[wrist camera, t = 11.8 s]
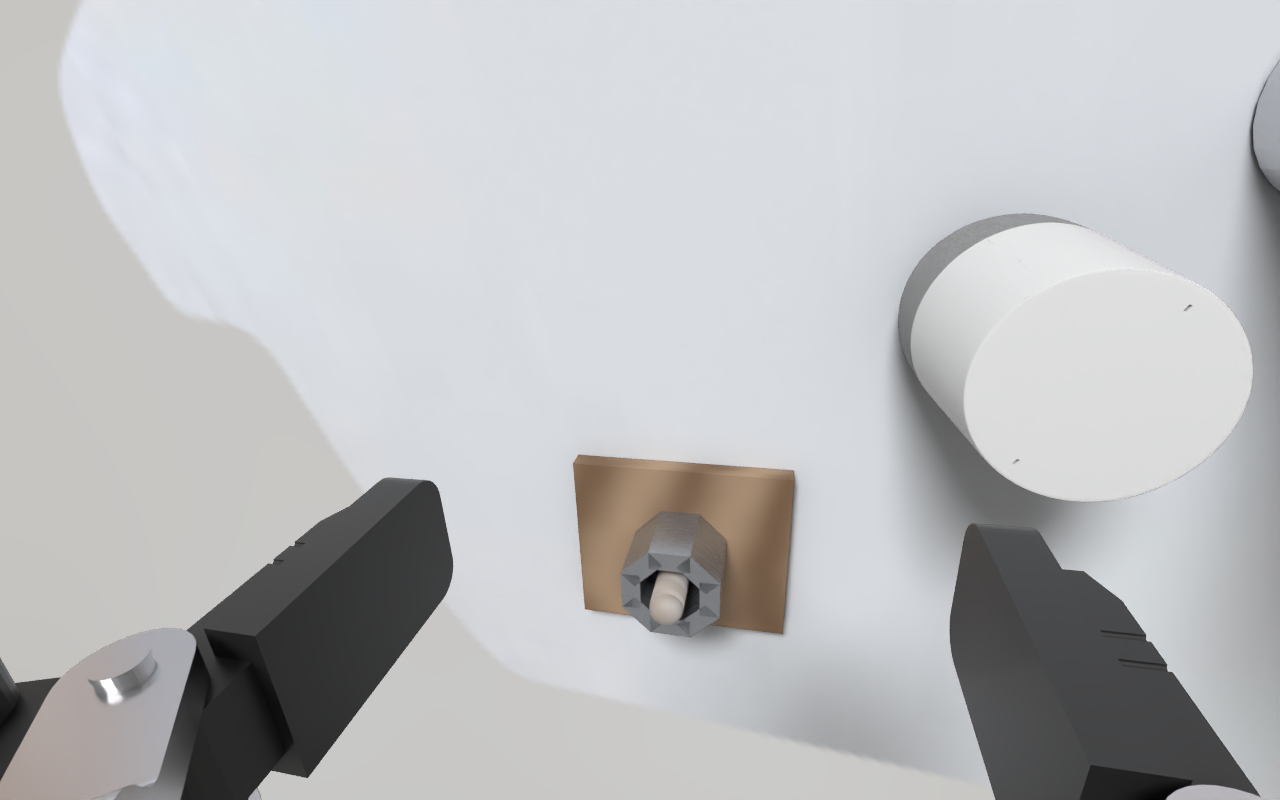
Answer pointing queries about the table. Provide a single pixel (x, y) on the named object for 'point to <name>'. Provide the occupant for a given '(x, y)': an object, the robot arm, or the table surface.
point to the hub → (676, 569)
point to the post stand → (723, 495)
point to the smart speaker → (1073, 357)
